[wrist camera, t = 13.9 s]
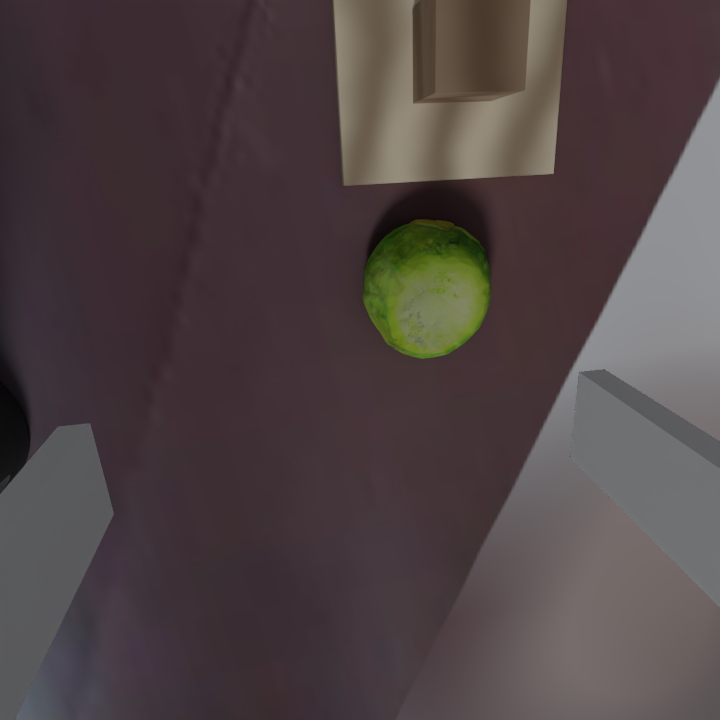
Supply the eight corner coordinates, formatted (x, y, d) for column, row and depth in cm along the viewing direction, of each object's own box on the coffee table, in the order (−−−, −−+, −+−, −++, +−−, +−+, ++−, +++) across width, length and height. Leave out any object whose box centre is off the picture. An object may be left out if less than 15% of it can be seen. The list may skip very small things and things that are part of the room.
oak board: (342, 185, 41) (344, 185, 40) (327, -81, 35) (328, -89, 34) (546, 173, 43) (553, 173, 42) (565, -80, 37) (573, -88, 36)
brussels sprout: (364, 215, 42) (375, 222, 38) (491, 222, 44) (516, 229, 39) (356, 348, 46) (364, 369, 42) (472, 350, 48) (493, 370, 43)
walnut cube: (413, 103, 39) (435, 92, 33) (412, 9, 37) (436, -20, 31) (490, 101, 39) (525, 90, 34) (494, 8, 37) (532, -20, 32)
